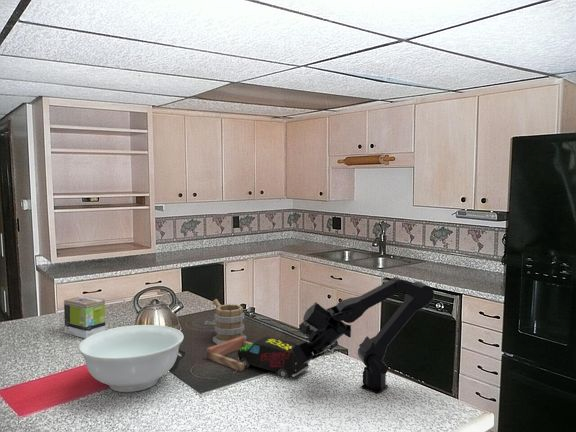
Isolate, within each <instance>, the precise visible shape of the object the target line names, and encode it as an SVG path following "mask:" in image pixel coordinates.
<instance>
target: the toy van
mask: <svg viewBox="0 0 576 432" xmlns="http://www.w3.org/2000/svg"><path fill="white" fill-rule="evenodd" d="M251 343H252V344H249V345H247V346H244V347H242V348H240V349H238V350H237V361H239V362H242V363H244V368H247V369H248V368H249V367H250V366H253V367H257V368H260V369H265V370H267V371H270V372H274V373H277V377H279V378H283V379H288V378H289V376H290V377H293V378H295V377H297V376H298V375H300V374H301V373H303V372H305V371H306V370H308V369H309V367H310V365H309V361H308V362H307V363H305V364H302V363H301V362H300V361H299V359H298V358H297V356H296V355H295V353H294V351H293V350H292V347H293V346H294V345H295V344H297V343H298V342H295V341H291V340H287V339H282V338H279V337H275V336H274V337H273V336H264V337H261V338H259V339H258V340H255V341H254V342H251Z"/></svg>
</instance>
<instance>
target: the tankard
mask: <svg viewBox="0 0 576 432" xmlns="http://www.w3.org/2000/svg"><path fill="white" fill-rule="evenodd" d="M212 305H213V306H215V313H214V332H215V333H216V335H214V336H213V337H212V342H213V343H214V344H215V345H217V344H220V343H223V342H226V341H229V340H231V339H234V338H237V337H240V336H243V337H245V341H247V335H246V334H244V331H245V324H244V319H245V312H244V307H243V306H242V305H239V304H236V303H235V304H234V303H233V304H232V303H229V304H227V303H226V304H221V303H220V302H219V300H218V298H215V299H214V300H212Z"/></svg>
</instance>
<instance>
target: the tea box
mask: <svg viewBox="0 0 576 432" xmlns="http://www.w3.org/2000/svg"><path fill="white" fill-rule="evenodd" d="M63 309H64V334H67V335H71V336H75V337H79V338H82V339H86V338H87V337H89V336H91V335H94V334H96V333H99V332H102V331H105V330H106V302H105V299H101V298H97V297H92V296H88V295H81V296H77V297H71V298H66V299H63Z"/></svg>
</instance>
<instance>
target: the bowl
mask: <svg viewBox="0 0 576 432" xmlns="http://www.w3.org/2000/svg"><path fill="white" fill-rule="evenodd" d="M183 341H184V334H183V332H182V331H181V330H179V329H177V328H174V327H170V326H165V325H158V324H135V325H126V326H119V327H115V328H110V329H105V331H102V332H99V333H96V334H94V335H91V336H89V337H87V338H86V339H85V338H83V340H82V341H81V342H80V343H79V345H78V352H79V354H80V355H81V356H82V357H83V358H84V362H85V365H86V369H87V371H88V372H89V374H90V375H91V377H93V378H94V379H95V380H96V381H98V382H100V383H102V384H106V385H108V387H109V388H110V389H111V390H113V391H114V392H120V393H135V392H139V391H143V390H144V391H145V390H147V389H149V388H152V387H153V386H155V385H157V383H158V382H159V378H161V377H163V376H165V374H167V373H168V372H170V370H171V368H173V366H174V365H175V362H176V360H177V358H178V354H179V351H180V350H179V349H180V345H181V344H182V343H183Z"/></svg>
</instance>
